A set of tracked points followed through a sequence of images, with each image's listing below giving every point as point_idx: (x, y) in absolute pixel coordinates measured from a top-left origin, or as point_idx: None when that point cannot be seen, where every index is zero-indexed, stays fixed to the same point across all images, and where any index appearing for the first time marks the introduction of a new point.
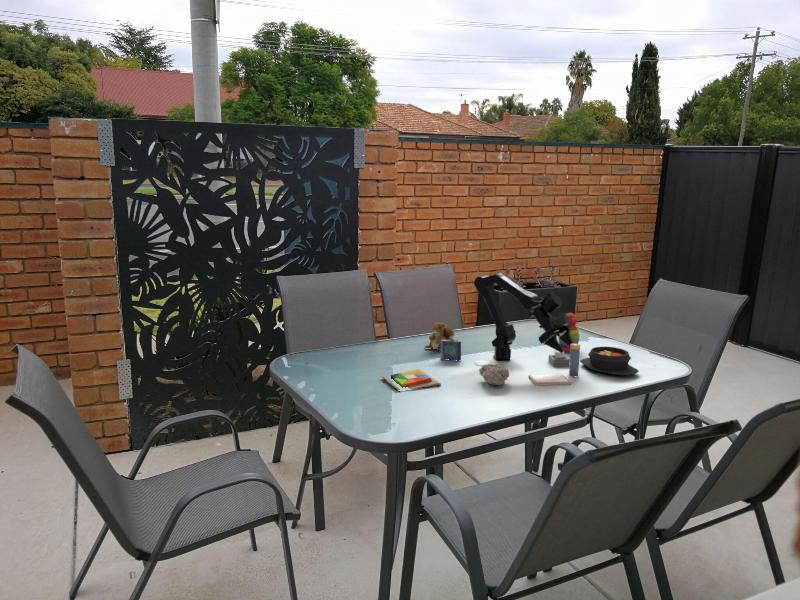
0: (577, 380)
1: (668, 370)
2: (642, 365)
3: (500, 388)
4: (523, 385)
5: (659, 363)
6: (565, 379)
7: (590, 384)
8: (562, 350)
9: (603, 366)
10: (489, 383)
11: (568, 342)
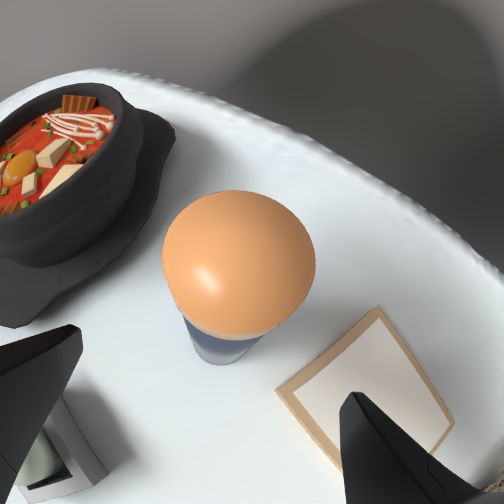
0: None
1: None
2: None
3: (494, 472)
4: (461, 451)
5: None
6: (366, 339)
7: (315, 235)
8: (369, 399)
9: (131, 181)
10: None
11: (34, 398)
